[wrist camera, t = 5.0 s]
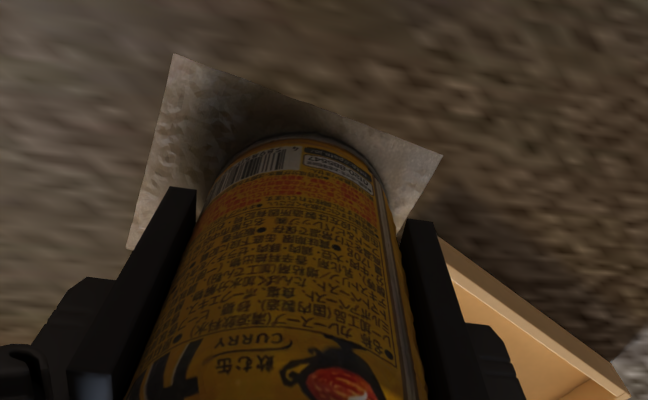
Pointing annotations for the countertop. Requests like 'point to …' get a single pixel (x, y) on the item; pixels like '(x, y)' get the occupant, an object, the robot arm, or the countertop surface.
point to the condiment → (280, 249)
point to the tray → (532, 338)
